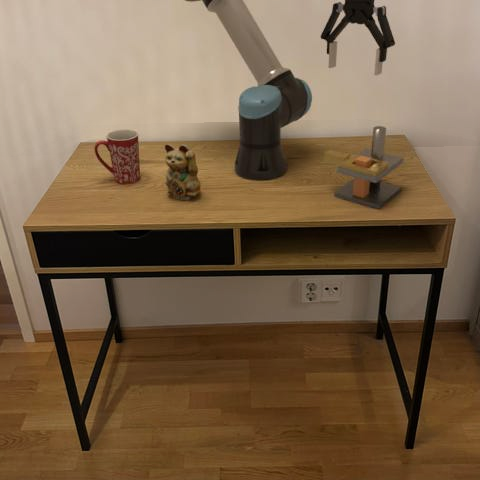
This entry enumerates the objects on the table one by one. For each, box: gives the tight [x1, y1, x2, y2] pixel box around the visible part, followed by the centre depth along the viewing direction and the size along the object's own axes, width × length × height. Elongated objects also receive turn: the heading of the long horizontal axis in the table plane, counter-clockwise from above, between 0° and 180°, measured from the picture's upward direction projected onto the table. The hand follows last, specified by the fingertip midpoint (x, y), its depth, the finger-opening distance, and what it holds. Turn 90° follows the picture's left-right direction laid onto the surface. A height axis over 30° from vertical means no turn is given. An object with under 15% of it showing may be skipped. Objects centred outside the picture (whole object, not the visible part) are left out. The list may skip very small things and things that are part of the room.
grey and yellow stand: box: [323, 125, 405, 210], centre depth 154 cm, size 18×16×17 cm
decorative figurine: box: [164, 143, 201, 201], centre depth 156 cm, size 10×8×15 cm
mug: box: [94, 128, 141, 185], centre depth 166 cm, size 13×9×14 cm
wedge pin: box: [353, 156, 372, 198], centre depth 152 cm, size 3×3×10 cm
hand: (354, 70), depth 156 cm, fingers open, 13 cm apart
